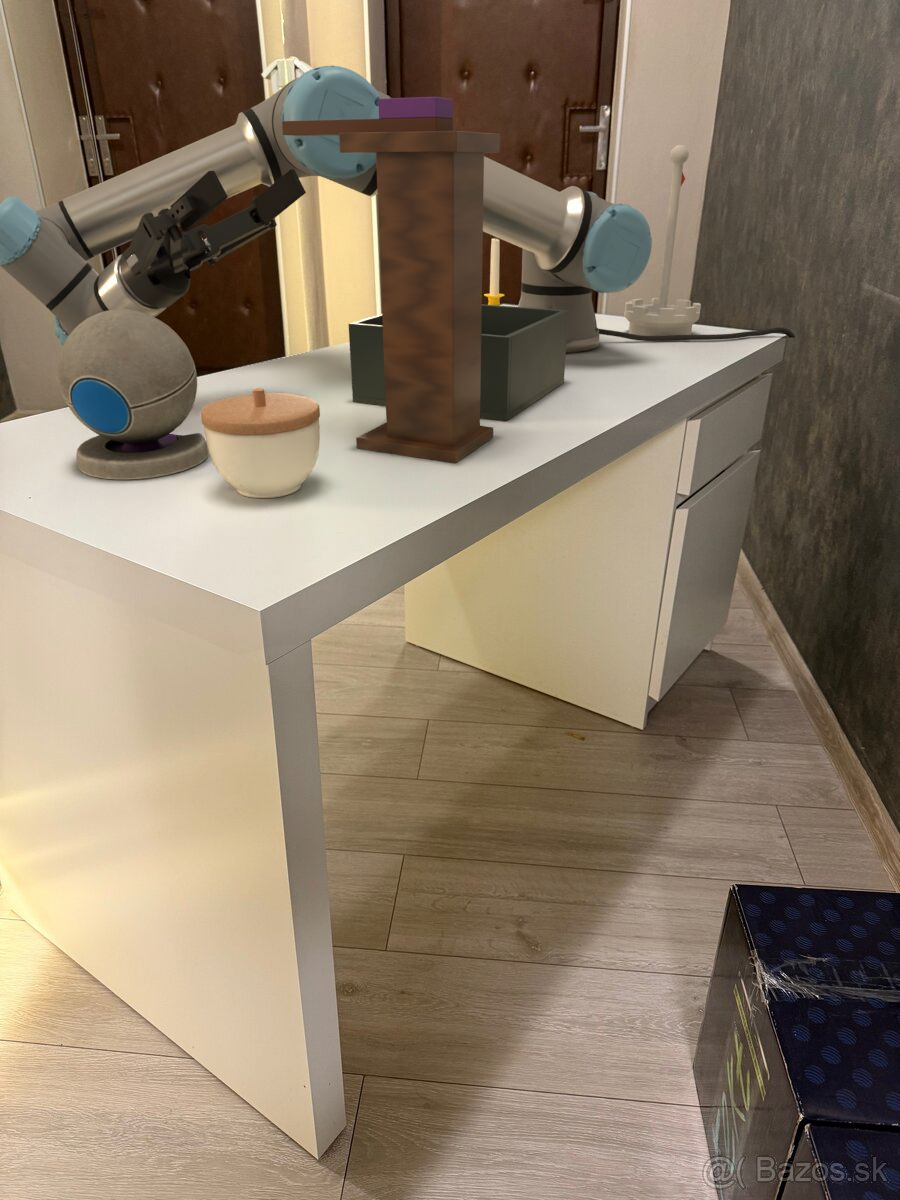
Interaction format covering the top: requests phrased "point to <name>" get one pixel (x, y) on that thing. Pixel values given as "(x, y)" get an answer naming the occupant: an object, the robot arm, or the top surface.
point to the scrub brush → (384, 119)
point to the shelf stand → (429, 288)
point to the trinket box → (263, 441)
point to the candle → (494, 274)
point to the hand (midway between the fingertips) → (261, 182)
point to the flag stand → (665, 277)
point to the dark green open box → (508, 358)
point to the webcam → (130, 395)
